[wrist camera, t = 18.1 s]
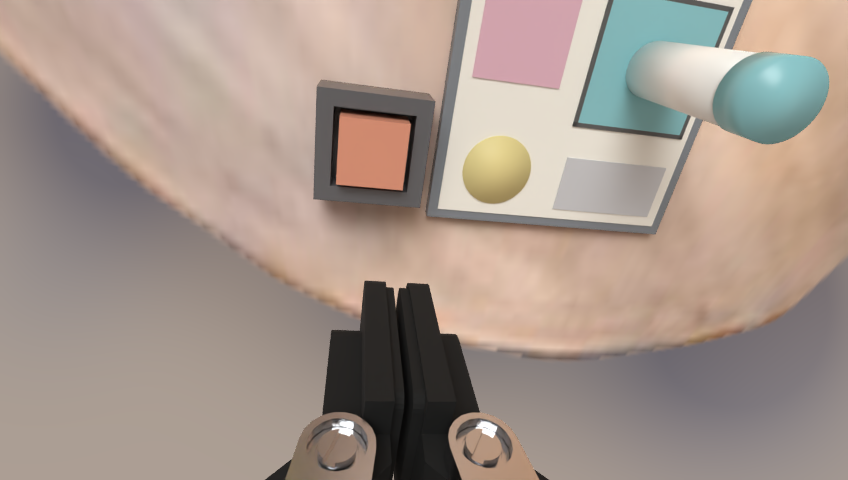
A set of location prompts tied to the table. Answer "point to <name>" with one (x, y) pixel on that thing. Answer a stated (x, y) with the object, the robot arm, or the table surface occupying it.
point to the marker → (732, 87)
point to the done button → (372, 149)
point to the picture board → (565, 111)
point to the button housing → (375, 101)
